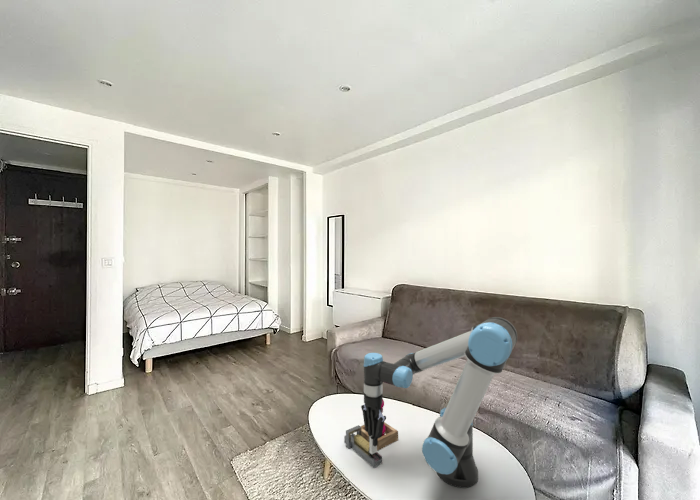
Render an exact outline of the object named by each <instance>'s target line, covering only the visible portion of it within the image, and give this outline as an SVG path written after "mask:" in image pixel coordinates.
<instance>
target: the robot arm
mask: <svg viewBox="0 0 700 500" xmlns="http://www.w3.org/2000/svg"><path fill="white" fill-rule="evenodd" d="M517 342H518V332H517V329H516V327H515V326H514V324H512V322H510V321H509V320H508V319H506V318H503V317H499V316H495V317H489V318H487V319H486V320H484V321H483V322H481V323H479V324H476V325H474V326H472V327H471V329H470V330H469V331H467V332H464V333H462V334H459V335H456V336H454V337H451V338H449V339H446V340H443V341H441V342H439V343H436V344H433V345H431V346H428V347H425V348H424V349H421V350H419V351H418V350H417V351H415V352H410V353H408V354H406V355H405V356H403V357H402V358H401V359H399V360H398V361H396V362H394V363H391V362H387V361H385V360H384V358H383V355H382V354H380V353H379V352H368V353H367V354H365V355H364V357H363V358H364V359H363V403H364V404H362V405H361V406H360V408H361V411H362V416H363V425H365V431H366V432H368V435H369V453H371V454H374V453H376V452H377V453H378V451H377V445H378V438H380V437H382V432H383V426H384V422H385V421H386V419H387V416H386V415H383V413H382V410H381V405H382V403H383V400H384V399H383V385H384V384H383V383H385V384H388V385H391V386H394V387H396V388H402V389H403V388H404V389H408V388H409V387H410V386H411V384H412V382H413V376H414V375H416V374H419V373H421V372H424V371H426V370H429V369H432V368H435V367H438V366H441V365H443V364H447V363H450V362H453V361H455V360H458V359H461V358H464V357H465V358H466V362H465V364H464V367H463V369H462V371H461V374H460V375H459V379H458V381H457V383H456V385H455V388H454V390H453V391H452V394H451V396H450V398H449V400H448V401H449V402H448V403H447V405H446V407H443V408H442V409H440V412H439V417H437V418H436V419H435V421H434V423H433V424H432V425H433V426H432V428H431V429H430V432H429V434H428V436H427V437H426V438H425V439H424V441H423V443H422V447H421V451H422V456H423V458H424V460H425V462H426V464H428V466H429V467H430V468H431V469H432V470H433V471H435V472H436V474H437V476H438V477H439V478H440V479H441V480H442V481H443V482H445V483H446V484H448V485H450V486H452V487H457V488H469V487H473V486H475V484H477V482H478V480H479V471H478V467H477V464H476V461H475V458H474V452H473V451H474V450H473V449H474V448H473V445H474V443H473V440H474V439H473V435H474V433H473V431H474V430H473V429H474V426H473V425H474V423H473V422H474V421H473V420H474V419H475V417H476V414H477V412H478V410H479V408H480V406H481V403H482V401H483V399H484V397H485V395H486V393H487V391H488V389H489V387H490V385H491V382H492V380H493V378H494V376H495V375H499V374H502V372H503V370H504V368H505V366H506V364H507V361H508V359H509V358H510V357H511V356H510V355H511V354H512V352H513V350H514V348H515V346H516V344H517ZM367 427H368V428H367Z"/></svg>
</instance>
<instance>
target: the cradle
mask: <svg viewBox="0 0 700 500" xmlns="http://www.w3.org/2000/svg"><path fill="white" fill-rule="evenodd" d="M384 424H385V428H386V431H385V433H384V434H385V435H383V436H382V437H380V438H378V445H377V452H378V451H379V450H382V449H383V448H386V447H387V446H389V445H392V444H394V443H396V442H397V441H399V431H398V430H397V429H396V428H394V427H393V426H391V425H390V424H389V423H386V422H385V421H384ZM360 426H361V428H362V437H363V438H364V439H365V440H367V441H368V442H369V435H368V432H366V431H365V425H364V424H362V425H360ZM367 428H368V427H367Z"/></svg>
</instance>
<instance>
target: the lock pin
mask: <svg viewBox="0 0 700 500" xmlns="http://www.w3.org/2000/svg"><path fill="white" fill-rule="evenodd" d="M354 443H355V444H356V445H357V446H359V447H360V448H361V449H362V450H363V451H365V452H366V453H367V454H368V455H373V454H371V453H369V442H368V441H367V440H365V439H364V438H363V437H362V436H360V435H359V434H357V433H356V434H355V436H354Z"/></svg>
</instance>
